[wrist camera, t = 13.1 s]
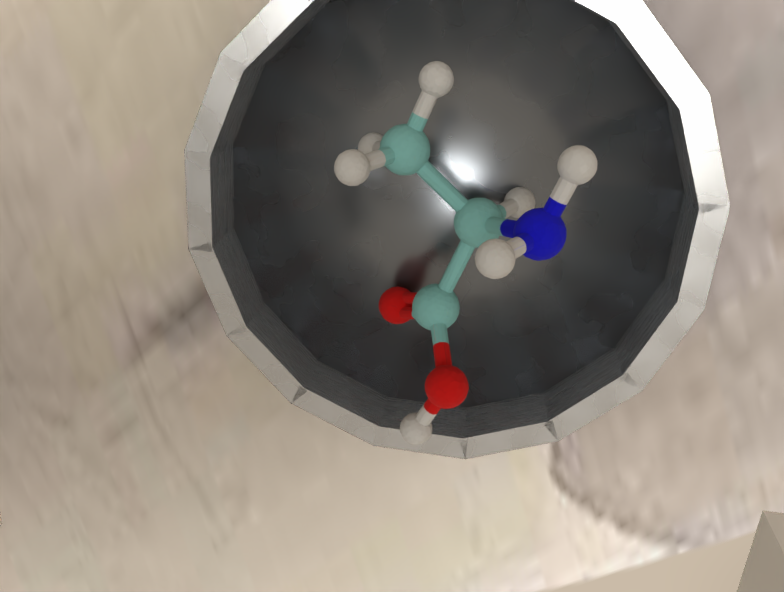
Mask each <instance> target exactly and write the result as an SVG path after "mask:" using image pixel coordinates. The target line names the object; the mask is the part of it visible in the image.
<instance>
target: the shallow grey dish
mask: <svg viewBox="0 0 784 592" xmlns="http://www.w3.org/2000/svg"><path fill="white" fill-rule="evenodd" d="M433 61H441V62H444V63H445V64H447V65H448V66H449V67H450V68H451V70H452V72H453V76H454V83H453V86H452V88H451V90H450V91H449V92H448V93H447V94H445V95H444V96H442V97H439V98H437V101H436V103H435V105H434V107H433V109H432V112H431V114H430V116H429V118H428V120H427V123H426V125H425V127H424V129H423V132H424V133H425V135H426V136H427V138H428V140H429V144H430V156H429V159H428V161H429V162H430V163H431V164H432V165H433V166H434V167H435V168H436V169H437V170H438V171H439V172H440V173H441V174H442V175H443V176H444V177H445V178H446V179H447V180H448V181H449V182H450V183H451V184H452V185H453V186H454V187H455V188H456V189H457V190H458V191H459V192H460V193H461V194H462V195H463V196H464V197H465V198H466V199H467V200H469V199H472V198H486V199H489V200H491V201H493V202H494V203H495V204H496V205H498V204H500V203H502V202H504V198H505V196H506V194H507V193H508V192H509V191H510V190H511V189H513V188H515V187H524V188H527V189H529V190H530V191H531V192H532V193H533V195H534V197H535V202H536V204H535V208H544V206H545V204H546V202H547V200H548V199H549V197H550V195H551V193H552V191H553V189H554V187H555V185H556V183H557V182H558V180H559V178H560V175H559V172H558V169H557V164H558V160H559V157H560V155H561V154H562V152H563V151H565V150H566V149H567V148H569V147H571V146H575V145H582V146H585V147H587V148H589V149H590V150H592V151H593V153H594V154H595V156H596V158H597V171H596V173H595V175H594V176H593V177H592V178H591V179H590V180H589V181H588V182H586V183H584V184H580V185H578V186H577V187H576V189H575V191H574V193H573V195H572V197H571V198H570V200H569V202H568V204H567V206H566V207H565V209H564V211H563V213H562V215H561V216H560V217H561V218H562V220H563V222H564V224H565V226H566V229H567V236H566V241H565V244H564V246H563V248H562V249H561V251H560V252H559V253H558V254H557V255H555V256H554V257H552V258H550V259H548V260H541V261H536V260H532V259H530V258H527V257H525V256H524V255H521V256H520V257H518V258H516V261H515V265H514V268H513V269H512V271H511V272H510V273H509V274H508V275H507V276H505V277H503V278H499V279H491V278H488V277H485V276H484V275H482V274H481V273H480V272H479V270H478V269H477V267H476V263H475V254H476V251H477V249H478V247H475V249H474V251H473V253H472V255H471V257H470V259H469V261H468V263H467V265H466V267H465V269H464V270H463V272H462V274H461V276H460V278H459V280H458V282H457V284H456V286H455V288H454V290H453V291H454V293H455V294H456V296H457V297H458V300H459V305H460V310H459V315H458V317H457V319H456V321H455V322H454V323H453V324H452V325H451V326H450V327H448V328H447V332H448V339H449V346H450V353H451V360H452V366H455V367H458V368H459V369H460V370H461V371H463V372H464V374H465V376H466V377H467V380H468V384H469V390H468V394H467V396H466V398H465V400H464V401H463V402H462V403H461V404H460V405H458V406H456V407H454V408H451V409H443V408H441V409H440V411H439V412H438V413H437V415H436V416H435V417H434V419H433V420H432V421H431V424H432V434H431V436H430V438H429V439H428V440H427V441H426V442H425V443H423V444H421V445H412V444H409V443H408V442H406V441H405V440H404V439H403V437H402V435H401V433H400V425H401V422H402V420H403V419H404V417H405V416H407V415H408V414H410V413H414V412H419V410H420V409H421V407H422V406H423V405H424V403H425V402H426V400H427V399H428V397H427V395H426V392H425V381H426V378H427V376H428V375H429V373H430V372H431V371H432V370H433V369H434V368H436V367H435V359H434V351H433V343H432V335H431V330H428V329H425V328H424V327H422V326H421V325H419V323H418V322H417V321H416V320H415V319H410V320H409V321H407V322H405V323H402V324H393V323H390V322H388V321H386V320H385V319H384V318H383V317H382V315H381V313H380V311H379V300H380V297H381V295H382V294H383V293H384V292H385V291H386V290H387V289H389V288H391V287H397V286H398V287H403V288H406V289H408V290H409V291H410V292H418V291H419V290H420V289H422V288H423V287H425V286H427V285H430V284H439V282H440V280H441V278H442V276H443V274H444V272H445V270H446V268H447V266H448V264H449V262H450V260H451V258H452V256H453V254H454V252H455V250H456V248H457V246H458V244H459V242H460V239H459V237H458V236H457V234H456V232H455V228H454V217H455V214H456V211H455V210H454V209H453V208H452V207H451V206H450V205H449V204H448V203H447V202H445V201H444V200H443V199H442V198H441V197H440V196H439V195H438V194H437V193H436V192H435V191H434V190H433V189H432V188H431V187H430V186H429V185H428V184H427V183H426V182H425V181H424V180H423V179H422V178H421V177H420V176H419V175H418V174H417V173H415V174H412V175H398V174H395V173H393V172H391V171H390V170H389V169H387V167H386V166H383V167H381V168H378V169H375V170H372V171H370V173H369V176H368V178H367V179H366V180H365V181H364V182H363V183H361V184H359V185H357V186H348V185H346V184H343V183H342V182H341V181H339V180H338V178H337V176H336V174H335V171H334V164H335V161H336V159H337V157H338V156H339V154H341V153H342V152H344V151H346V150H349V149H355V150H358V144H359V141H360V140H361V138H362V137H363V136H365V135H366V134H368V133H373V132H374V133H379V134H381V135H382V136H384V134H385V133H386V132H387V131H388V130H389V129H390V128H392V127H394V126H396V125H400V124H407V123H408V120H409V118H410V116H411V114H412V111H413V109H414V107H415V105H416V102H417V100H418V98H419V96H420V94H421V91H422V89H421V88H420V85H419V74H420V71H421V70H422V68H423V67H424V66H425V65H427V64H428V63H430V62H433ZM184 153H185V177H186V201H187V225H188V249H189V251H190V253H191V256H192V258H193V260H194V263H195V265H196V267H197V269H198V272H199V274H200V276H201V279H202V281H203V283H204V285H205V288H206V290H207V292H208V295H209V297H210V299H211V301H212V304H213V306H214V308H215V311H216V313H217V315H218V317H219V320H220V322H221V324H222V326H223V329H224V331H225V333H226V336H227V337H228V338H229V339H230V340H231V341H232V342H233V343H234V344H235V345H236V346H237V347H238V348H239V349H240V351H241V352H242V353H243V354H244V355H245V356H246V357H247V358H248V359H249V360H250V361H251V362H252V363H253V364H254V365H255V366H256V367H257V368H258V369H259V370H260V371H261V373H262V374H263V375H264V376H265V377H266V378H267V379H268V380H269V381H270V382H271V383H272V384H273V385H274V386H275V387H276V388H277V389H278V390H279V391H280V392H281V393H282V395H283V396H284V397H285V398H286V399H287V400H288V401H289V402H290V403H291V404H293V405H295V406H297V407H299V408H301V409H303V410H305V411H307V412H309V413H311V414H313V415H315V416H317V417H318V418H320V419H322V420H324V421H326V422H328V423H330V424H332V425H334V426H336V427H338V428H340V429H342V430H344V431H346V432H348V433H350V434H352V435H354V436H355V437H357V438H359V439H361V440H363V441H365V442H367V443H369V444H371V445H373V446H379V447H386V448H393V449H400V450H407V451H413V452H420V453H427V454H434V455H441V456H448V457H454V458H461V459H468V458H474V457H479V456H484V455H489V454H495V453H500V452H505V451H510V450H515V449H521V448H526V447H531V446H536V445H541V444H547V443H552V442H557V441H560V440H561V439H563V438H565V437H566V436H568V435H570V434H571V433H573V432H575V431H576V430H578V429H580V428H581V427H583V426H585V425H586V424H588V423H590V422H591V421H593V420H595V419H596V418H598V417H600V416H601V415H603V414H605V413H606V412H608V411H610V410H611V409H613V408H615V407H616V406H618V405H620V404H621V403H623V402H625V401H626V400H628V399H630V398H631V397H633V396H635V395H636V394H638V393H640V392H641V391H643V389H644V388H645V387H646V385H647V384H648V383H649V381H650V380H651V379H652V377H653V376H654V375H655V373H656V372H657V371H658V370H659V368H660V367H661V366H662V364H663V363H664V362H665V360H666V359H667V358H668V356H669V355H670V354H671V353H672V351H673V350H674V349H675V347H676V346H677V345H678V343H679V342H680V341H681V339H682V338H683V337H684V336H685V334H686V333H687V332H688V330H689V329H690V328H691V326H692V325H693V324H694V322H695V321H696V320H697V319H698V317H699V316H700V315H701V313H702V312H703V311H704V308H705V304H706V300H707V296H708V292H709V288H710V284H711V280H712V276H713V272H714V268H715V265H716V261H717V257H718V253H719V249H720V245H721V241H722V237H723V233H724V229H725V225H726V221H727V217H728V213H729V209H730V202H729V196H728V191H727V186H726V180H725V175H724V169H723V164H722V158H721V153H720V148H719V142H718V137H717V131H716V126H715V121H714V115H713V110H712V104H711V99H710V94H709V93H708V91H707V90H706V88H705V87H704V86H703V84H702V83H701V81H700V80H699V79H698V77H697V76H696V74H695V73H694V72H693V70H692V69H691V68H690V66H689V65H688V63H687V62H686V61H685V59H684V58H683V56H682V55H681V54H680V52H679V51H678V50H677V48H676V47H675V45H674V44H673V43H672V41H671V40H670V38H669V37H668V36H667V34H666V33H665V31H664V30H663V29H662V27H661V26H660V25H659V23H658V22H657V20H656V19H655V18H654V16H653V15H652V13H651V12H650V11H649V9H648V8H647V6H646V5H645V4H644V2H643V1H642V0H271V1H270V2H269V3H268V4H267V5H266V6H265V7H264V8H263V9H262V10H261V11H260V12H259V13H258V14H257V15H256V16H255V17H254V18H253V19H252V20H251V21H250V22H249V23H248V24H247V25H246V27H245V28H244V29H243V30H242V31H241V32H240V33H239V34H238V35H237V36H236V37H235V38H234V39H233V40H232V41H231V42H230V43H229V44H228V45H227V46H226V47H225V48H224V49H223V50H222V51H221V52H220V55H219V58H218V60H217V63H216V66H215V69H214V71H213V74H212V77H211V79H210V82H209V85H208V88H207V90H206V93H205V96H204V98H203V101H202V104H201V106H200V109H199V112H198V115H197V117H196V120H195V123H194V125H193V128H192V131H191V134H190V136H189V139H188V142H187V144H186V147H185V150H184ZM535 208H534V209H535ZM506 219H510V220H516V221H517V220H518V219H519V218H514V217H512V216H510V217H508V218H506ZM498 239H501V240H504V241H508V240H510V239H512V238H509V237H504V236H499V238H498Z"/></svg>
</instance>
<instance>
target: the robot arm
mask: <svg viewBox="0 0 784 592" xmlns="http://www.w3.org/2000/svg"><path fill="white" fill-rule="evenodd" d="M1 524H2V519H1V513H0V525H1ZM737 592H784V513H777V512H770V511H762V515H761V518H760V521H759V524H758V527H757V530H756V533H755V537H754V540H753V543H752V546H751V549H750V552H749V555H748V558H747V562H746V565H745V568H744V571H743V574H742V577H741V580H740V584H739V587H738V590H737Z"/></svg>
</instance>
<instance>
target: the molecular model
mask: <svg viewBox="0 0 784 592" xmlns="http://www.w3.org/2000/svg"><path fill="white" fill-rule="evenodd" d="M453 83H454V76H453V72H452V70H451V68H450V67H449V66H448V65H447V64H445V63H444V62H441V61H433V62H430V63H428V64H427V65H425V66H424V67H423V68H422V70H421V71H420V74H419V85H420V88H421V89H422V91H421V94H420V96H419V98H418V100H417V102H416V105H415V107H414V109H413V111H412V114H411V116H410V118H409V120H408V123H407V124H400V125H396V126H394V127H392V128H390V129H389V130H388V131H387V132H386V133H385V134H384V136H382V135H381V134H379V133H374V132H373V133H368V134H366V135H365V136H363V137H362V138H361V140H360V141H359V144H358V150H355V149H349V150H346V151H344V152H342V153H341V154H339V156H338V157H337V159H336V161H335V164H334V171H335V174H336V176H337V178H338V180H339V181H341V182H342V183H343V184H346V185H348V186H357V185H359V184H361V183H363V182H364V181H365V180H366V179H367V178H368V176H369V173H370V171H372V170H375V169H378V168H381V167H383V166H386V167H387V169H389V170H390V171H391V172H393V173H395V174H398V175H412V174H415V173H417V174H418V175H419V176H420V177H421V178H422V179H423V180H424V181H425V182H426V183H427V184H428V185H429V186H430V187H431V188H432V189H433V190H434V191H435V192H436V193H437V194H438V195H439V196H440V197H441V198H442V199H443V200H444V201H445V202H447V203H448V204H449V205H450V206H451V207H452V208H453V209H454V210H455V211H456V214H455V217H454V228H455V232H456V234H457V236H458V237H459V239H460V242H459V244H458V246H457V248H456V250H455V252H454V254H453V256H452V258H451V260H450V262H449V264H448V266H447V268H446V270H445V272H444V274H443V276H442V278H441V280H440V282H439V284H430V285H427V286H425V287H423V288H422V289H420V290H419V291H418V292H410V291H409V290H408V289H406V288H403V287H398V286H397V287H391V288H389V289H387V290H386V291H385V292H384V293H383V294H382V295H381V297H380V300H379V311H380V313H381V315H382V317H383V318H384V319H385V320H386V321H388V322H390V323H393V324H402V323H405V322H407V321H409V320H410V319H415V320H416V321H417V322H418V323H419V325H421V326H422V327H424V328H425V329H428V330H431V335H432V343H433V351H434V359H435V367H436V368H434V369H433V370H432V371H431V372H430V373H429V375H428V376H427V378H426V381H425V392H426V395H427V397H428V399H427V400H426V402H425V403H424V405H423V406H422V407H421V409H420V410H419V412H414V413H410V414H408V415H407V416H405V417H404V419H403V420H402V422H401V425H400V433H401V435H402V437H403V439H404V440H405V441H406V442H408V443H409V444H412V445H421V444H423V443H425V442H426V441H427V440H428V439H429V438H430V436H431V434H432V424H431V421H432V420H433V419H434V417H435V416H436V415H437V413H438V412H439V411H440V409H441V408H443V409H451V408H454V407H456V406H458V405H460V404H461V403H462V402H463V401H464V400H465V398H466V396H467V394H468V390H469V384H468V380H467V377H466V376H465V374H464V372H463V371H461V370H460V369H459V368H458V367H455V366H452V360H451V353H450V346H449V339H448V332H447V328H448V327H450V326H451V325H452V324H453V323H454V322H455V321H456V319H457V317H458V315H459V310H460V305H459V300H458V297H457V296H456V294H455V293H454V291H453V290H454V288H455V286H456V284H457V282H458V280H459V278H460V276H461V274H462V272H463V270H464V269H465V267H466V265H467V263H468V261H469V259H470V257H471V255H472V253H473V251H474V249H475V247H478V249H477V251H476V254H475V263H476V267H477V269H478V270H479V272H480V273H481V274H482V275H484V276H485V277H488V278H491V279H499V278H503V277H505V276H507V275H508V274H509V273H510V272H511V271H512V269H513V268H514V265H515V261H516V258H518V257H520V256H521V255H524V256H525V257H527V258H530V259H532V260H536V261H541V260H548V259H550V258H552V257H554V256H555V255H557V254H558V253H559V252H560V251H561V249H562V248H563V246H564V244H565V241H566V236H567V229H566V226H565V224H564V222H563V220H562V218H561V217H560V216H561V215H562V213H563V211H564V209H565V207H566V206H567V204H568V202H569V200H570V198H571V197H572V195H573V193H574V191H575V189H576V187H577V186H578V185H580V184H584V183H586V182H588V181H589V180H590V179H591V178H592V177H593V176H594V175H595V173H596V171H597V158H596V156H595V154H594V153H593V151H592V150H590V149H589V148H587V147H585V146H582V145H575V146H571V147H569V148H567V149H566V150H565V151H563V152H562V154H561V155H560V157H559V160H558V164H557V169H558V172H559V175H560V178H559V180H558V182H557V183H556V185H555V187H554V189H553V191H552V193H551V195H550V197H549V199H548V200H547V202H546V204H545V206H544V208H535V204H536V202H535V197H534V195H533V193H532V192H531V191H530V190H529V189H527V188H524V187H515V188H513V189H511V190H510V191H509V192H508V193H507V194H506V196H505V198H504V202H502V203H500V204H498V205H496V204H495V203H494V202H493V201H491V200H489V199H486V198H472V199H469V200H467V199H466V198H465V197H464V196H463V195H462V194H461V193H460V192H459V191H458V190H457V189H456V188H455V187H454V186H453V185H452V184H451V183H450V182H449V181H448V180H447V179H446V178H445V177H444V176H443V175H442V174H441V173H440V172H439V171H438V170H437V169H436V168H435V167H434V166H433V165H432V164H431V163H430V162H429V161H428V159H429V156H430V144H429V140H428V138H427V136H426V135H425V133H424V132H423V129H424V127H425V125H426V123H427V120H428V118H429V116H430V114H431V112H432V109H433V107H434V105H435V103H436V101H437V98H439V97H442V96H444V95H445V94H447V93H448V92H449V91H450V90H451V88H452V86H453ZM534 208H535V209H534ZM510 216H512V217H514V218H519V219H518V220H517V221H516V220H510V219H506V218H508V217H510ZM499 236H504V237H509V238H512V239H510V240H508V241H504V240H501V239H498V238H499Z"/></svg>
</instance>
